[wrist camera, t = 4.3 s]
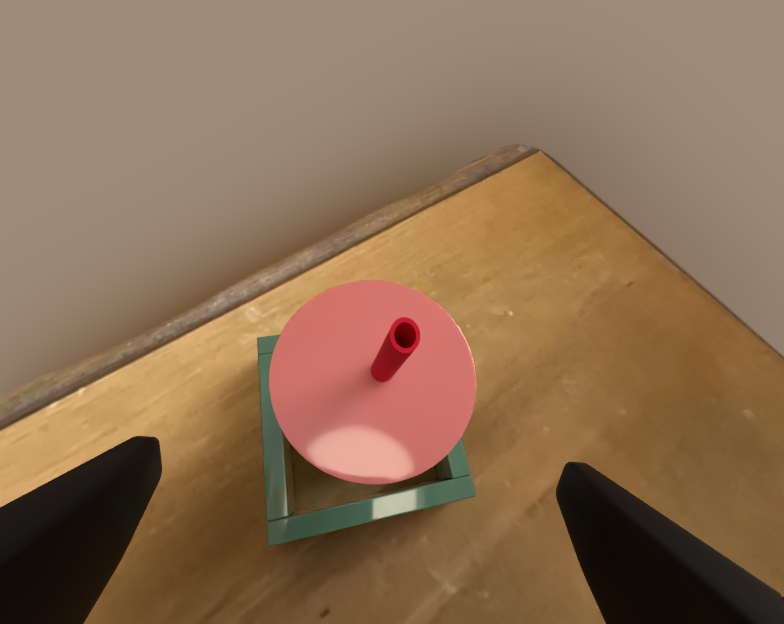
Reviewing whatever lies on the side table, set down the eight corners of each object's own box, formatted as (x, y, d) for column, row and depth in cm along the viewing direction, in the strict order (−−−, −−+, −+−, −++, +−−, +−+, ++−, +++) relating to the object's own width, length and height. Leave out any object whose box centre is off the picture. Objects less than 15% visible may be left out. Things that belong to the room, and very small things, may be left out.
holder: (277, 537, 15) (267, 547, 13) (266, 355, 18) (256, 337, 16) (458, 494, 17) (477, 496, 14) (419, 333, 20) (429, 314, 18)
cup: (428, 462, 17) (585, 427, 6) (314, 500, 16) (265, 539, 5) (394, 356, 19) (469, 192, 8) (291, 382, 18) (221, 228, 7)
